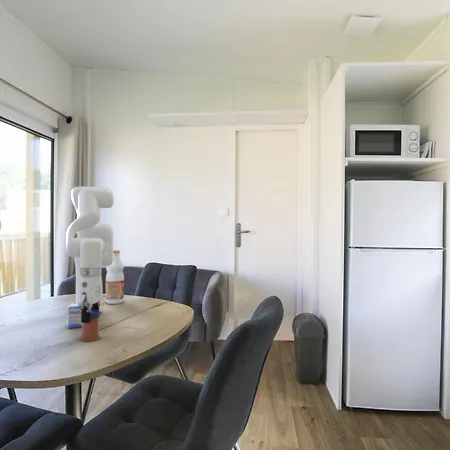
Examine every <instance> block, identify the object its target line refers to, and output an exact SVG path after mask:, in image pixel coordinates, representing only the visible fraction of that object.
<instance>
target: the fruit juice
mask: <svg viewBox="0 0 450 450" xmlns="http://www.w3.org/2000/svg"><path fill="white" fill-rule="evenodd" d="M120 253H121V251H120V250H119V249H113V262H112V264H111V265H110V266H105V270H106V276H105V304H108V305H119V304H123V303H124V301H125V275H124V268H125V266H124V263H123V262H122V260H121V257H120Z"/></svg>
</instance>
